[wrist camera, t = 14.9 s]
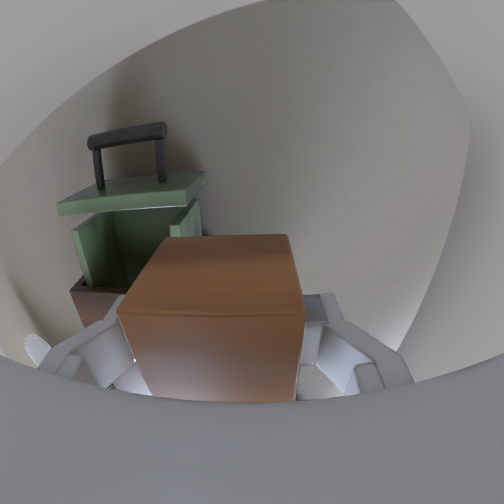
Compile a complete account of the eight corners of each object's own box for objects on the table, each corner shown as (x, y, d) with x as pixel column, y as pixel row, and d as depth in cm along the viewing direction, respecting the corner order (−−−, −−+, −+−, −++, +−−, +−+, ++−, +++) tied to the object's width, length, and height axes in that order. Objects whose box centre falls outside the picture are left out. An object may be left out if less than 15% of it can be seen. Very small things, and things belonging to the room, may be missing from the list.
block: (165, 236, 10) (113, 310, 6) (287, 232, 10) (307, 312, 6) (183, 328, 12) (159, 411, 8) (284, 329, 12) (293, 416, 8)
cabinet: (112, 244, 29) (68, 290, 21) (218, 242, 29) (203, 295, 20) (142, 344, 36) (120, 396, 27) (229, 349, 36) (222, 408, 27)
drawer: (95, 136, 23) (47, 145, 16) (203, 119, 23) (180, 116, 16) (126, 298, 32) (100, 340, 24) (217, 300, 31) (207, 350, 24)
